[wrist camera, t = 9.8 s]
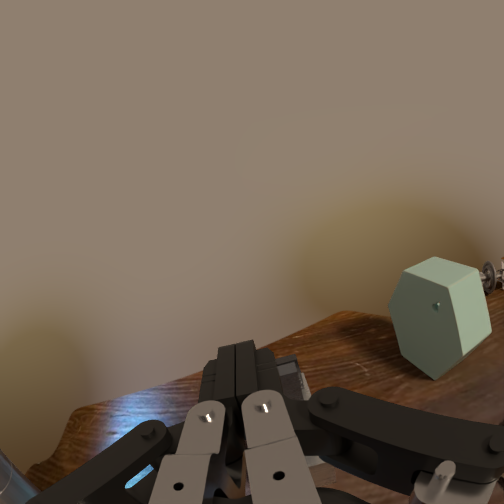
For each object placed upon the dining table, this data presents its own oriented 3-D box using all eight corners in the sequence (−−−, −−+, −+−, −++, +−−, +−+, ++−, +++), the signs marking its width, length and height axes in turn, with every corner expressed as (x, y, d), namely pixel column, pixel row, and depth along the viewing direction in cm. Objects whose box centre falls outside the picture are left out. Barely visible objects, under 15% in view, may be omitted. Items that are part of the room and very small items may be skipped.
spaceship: (422, 267, 61) (431, 265, 53) (526, 256, 50) (541, 254, 43) (423, 300, 60) (433, 302, 52) (527, 286, 50) (542, 286, 42)
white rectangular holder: (336, 482, 26) (330, 440, 24) (265, 498, 26) (243, 460, 24) (308, 398, 43) (298, 352, 41) (256, 411, 43) (240, 367, 41)
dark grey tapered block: (310, 430, 30) (297, 371, 27) (262, 441, 30) (239, 385, 27) (295, 379, 40) (282, 324, 38) (256, 389, 40) (238, 335, 38)
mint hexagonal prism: (450, 371, 41) (510, 311, 26) (421, 391, 40) (482, 336, 25) (408, 306, 53) (445, 232, 38) (379, 320, 52) (412, 245, 37)
